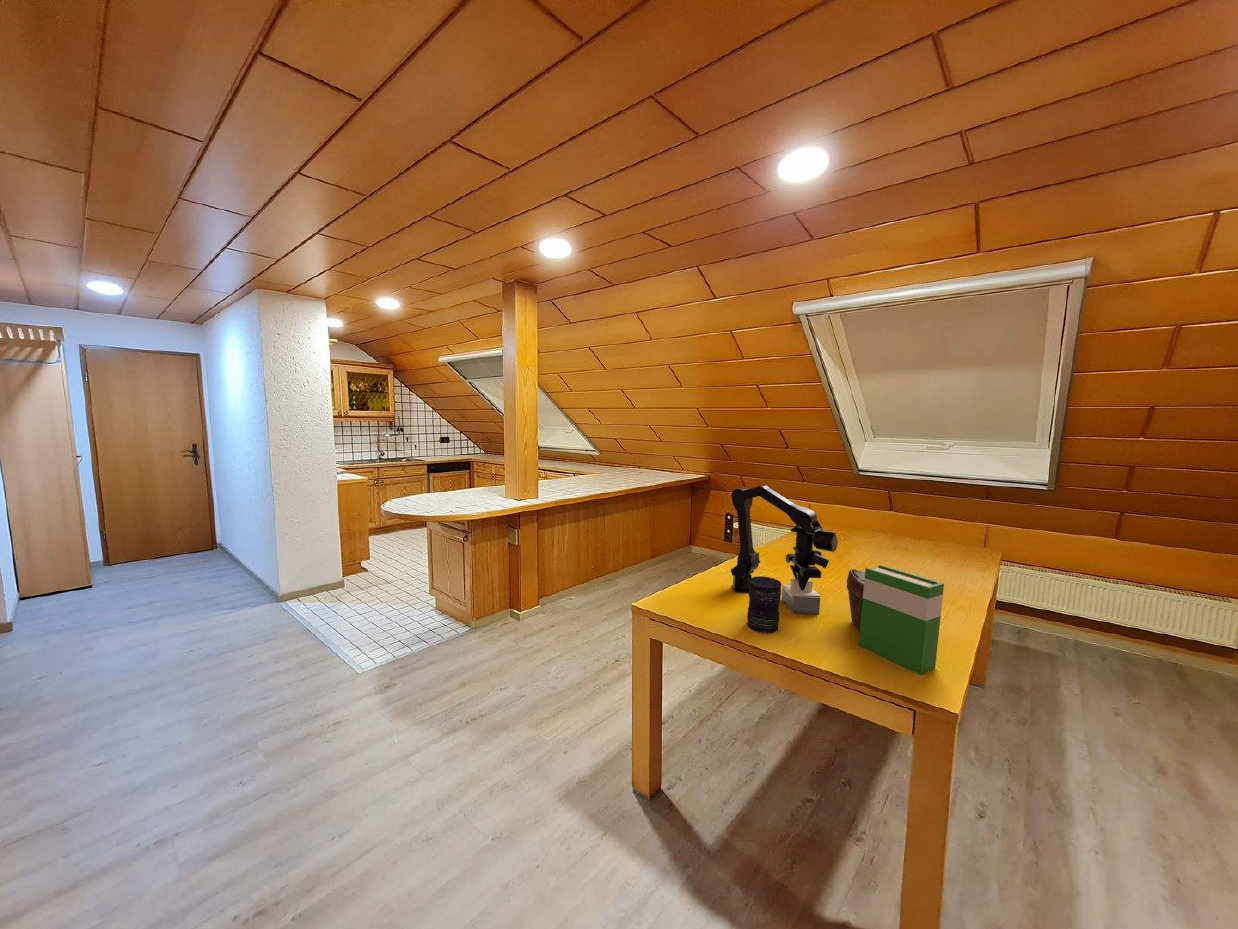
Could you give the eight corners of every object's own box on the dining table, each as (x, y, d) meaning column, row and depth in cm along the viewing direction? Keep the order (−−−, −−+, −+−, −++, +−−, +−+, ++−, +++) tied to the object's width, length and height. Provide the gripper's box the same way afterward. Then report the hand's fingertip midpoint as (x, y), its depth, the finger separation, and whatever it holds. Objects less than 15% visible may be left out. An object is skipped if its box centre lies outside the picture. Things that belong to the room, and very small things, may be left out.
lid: (791, 598, 167) (792, 585, 166) (782, 587, 176) (783, 575, 176) (819, 599, 166) (820, 585, 166) (809, 588, 176) (809, 576, 176)
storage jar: (774, 636, 148) (777, 589, 147) (742, 628, 154) (745, 582, 152) (782, 625, 157) (785, 580, 155) (752, 617, 162) (754, 574, 160)
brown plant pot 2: (924, 638, 150) (929, 582, 148) (866, 642, 146) (870, 585, 145) (884, 615, 167) (887, 564, 165) (831, 618, 164) (834, 566, 162)
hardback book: (858, 646, 144) (865, 568, 141) (873, 641, 147) (880, 564, 145) (920, 675, 129) (929, 588, 126) (935, 668, 132) (944, 583, 130)
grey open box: (792, 613, 166) (794, 597, 165) (781, 599, 178) (782, 584, 177) (819, 614, 166) (820, 598, 165) (806, 600, 178) (807, 585, 177)
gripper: (838, 554, 160) (835, 599, 162) (816, 539, 179) (813, 580, 180) (805, 553, 160) (801, 598, 162) (786, 538, 179) (783, 579, 180)
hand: (800, 588), depth 171 cm, fingers closed on lid
